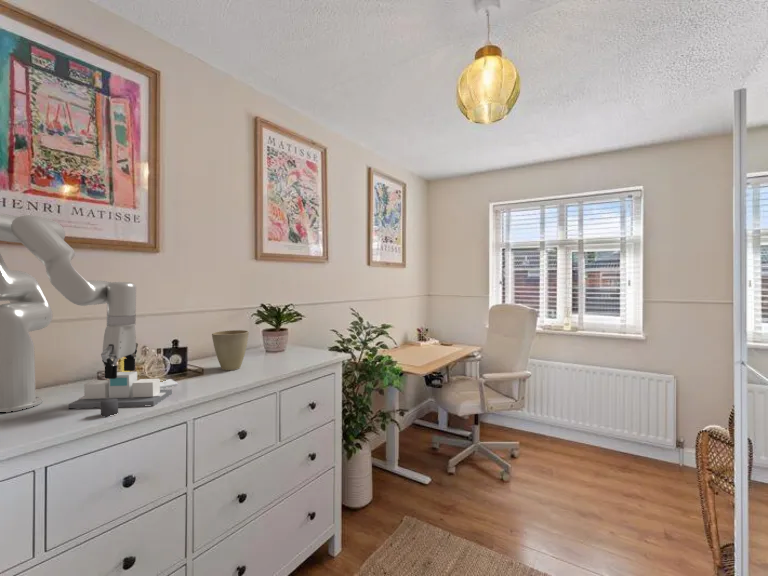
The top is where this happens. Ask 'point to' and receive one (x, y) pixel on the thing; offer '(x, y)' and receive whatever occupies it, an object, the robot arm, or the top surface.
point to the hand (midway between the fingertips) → (120, 374)
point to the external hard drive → (168, 383)
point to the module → (122, 385)
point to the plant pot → (230, 348)
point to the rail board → (142, 395)
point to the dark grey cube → (109, 407)
